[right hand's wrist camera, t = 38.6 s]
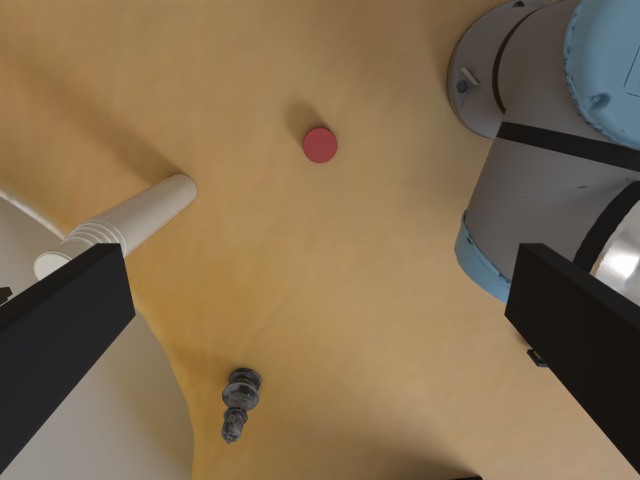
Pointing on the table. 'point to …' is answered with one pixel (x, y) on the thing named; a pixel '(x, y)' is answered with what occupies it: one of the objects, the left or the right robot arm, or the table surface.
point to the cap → (320, 145)
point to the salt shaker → (239, 402)
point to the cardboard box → (478, 479)
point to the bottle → (123, 223)
